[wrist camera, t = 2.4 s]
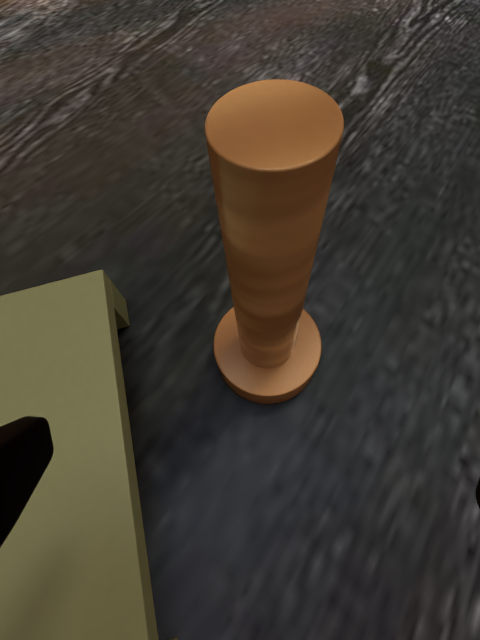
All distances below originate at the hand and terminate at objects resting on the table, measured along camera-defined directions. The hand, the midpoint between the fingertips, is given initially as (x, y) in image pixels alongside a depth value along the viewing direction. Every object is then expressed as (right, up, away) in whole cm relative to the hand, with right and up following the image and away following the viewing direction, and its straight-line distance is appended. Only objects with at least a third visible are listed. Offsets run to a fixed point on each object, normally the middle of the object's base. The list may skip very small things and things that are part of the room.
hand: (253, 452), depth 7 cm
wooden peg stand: (+1, +1, +14) cm, 14 cm away
